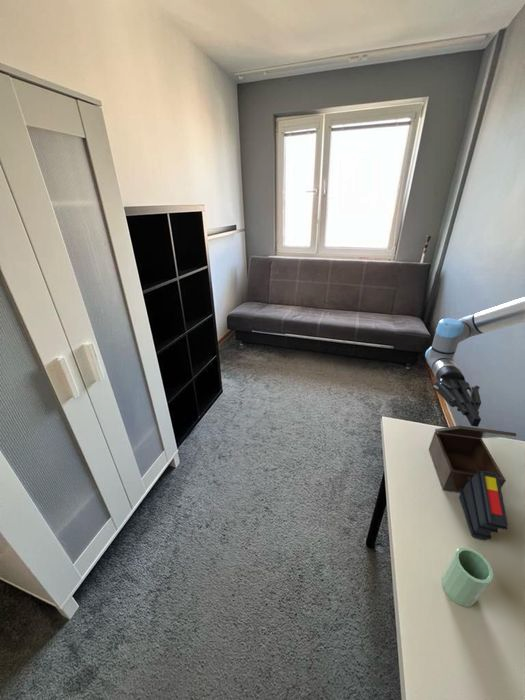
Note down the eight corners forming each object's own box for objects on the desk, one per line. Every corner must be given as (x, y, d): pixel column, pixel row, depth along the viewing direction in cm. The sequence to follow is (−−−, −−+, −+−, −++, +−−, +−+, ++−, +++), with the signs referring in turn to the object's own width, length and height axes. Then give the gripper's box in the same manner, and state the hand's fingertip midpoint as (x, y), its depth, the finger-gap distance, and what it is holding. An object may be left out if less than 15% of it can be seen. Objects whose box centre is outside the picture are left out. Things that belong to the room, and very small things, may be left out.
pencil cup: (468, 575, 60) (484, 551, 55) (480, 611, 55) (499, 587, 50) (437, 568, 61) (450, 543, 56) (446, 602, 56) (461, 578, 51)
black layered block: (470, 485, 76) (499, 472, 64) (479, 541, 69) (512, 538, 57) (455, 482, 77) (480, 468, 65) (461, 537, 70) (491, 533, 58)
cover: (516, 436, 68) (516, 432, 69) (458, 428, 71) (458, 425, 71) (482, 438, 83) (481, 435, 83) (435, 431, 86) (435, 429, 86)
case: (494, 499, 74) (506, 480, 71) (442, 490, 77) (450, 471, 74) (472, 456, 87) (481, 437, 83) (428, 449, 90) (434, 431, 86)
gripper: (466, 385, 95) (499, 436, 75) (424, 381, 98) (445, 429, 78) (473, 367, 92) (510, 415, 72) (429, 363, 95) (453, 408, 75)
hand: (476, 422), depth 75 cm, fingers closed
